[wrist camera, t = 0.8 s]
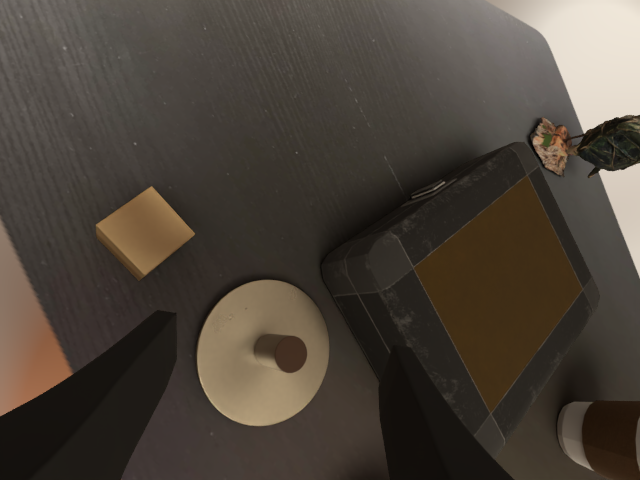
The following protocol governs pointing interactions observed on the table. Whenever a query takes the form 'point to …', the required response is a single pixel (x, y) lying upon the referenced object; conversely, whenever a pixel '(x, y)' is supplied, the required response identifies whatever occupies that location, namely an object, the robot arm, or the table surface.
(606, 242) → the table surface
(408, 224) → the cash box
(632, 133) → the plant with pod
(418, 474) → the robot arm
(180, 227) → the block
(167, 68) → the table surface
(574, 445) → the coffee cup
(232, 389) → the lid
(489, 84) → the table surface
